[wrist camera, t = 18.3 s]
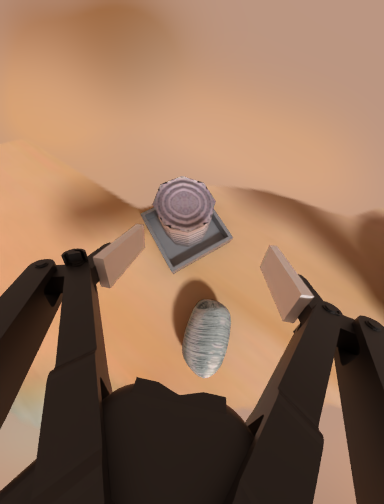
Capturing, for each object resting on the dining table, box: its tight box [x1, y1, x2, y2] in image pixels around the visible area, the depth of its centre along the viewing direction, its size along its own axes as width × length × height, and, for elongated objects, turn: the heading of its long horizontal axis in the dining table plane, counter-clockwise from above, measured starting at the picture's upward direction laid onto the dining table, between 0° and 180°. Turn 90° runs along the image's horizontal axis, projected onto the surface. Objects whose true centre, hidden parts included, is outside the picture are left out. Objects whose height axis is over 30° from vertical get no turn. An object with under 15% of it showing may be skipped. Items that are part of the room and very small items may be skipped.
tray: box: [141, 207, 233, 274], centre depth 38 cm, size 17×17×4 cm
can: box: [153, 176, 216, 247], centre depth 33 cm, size 11×11×12 cm
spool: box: [182, 299, 231, 378], centre depth 30 cm, size 14×10×10 cm
